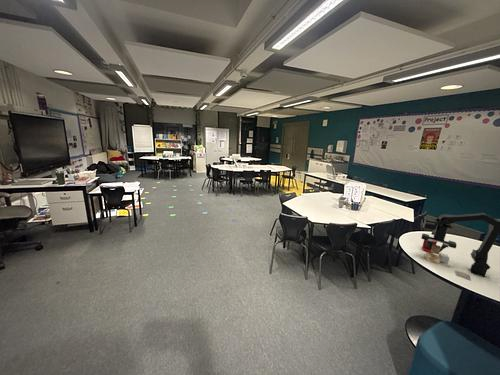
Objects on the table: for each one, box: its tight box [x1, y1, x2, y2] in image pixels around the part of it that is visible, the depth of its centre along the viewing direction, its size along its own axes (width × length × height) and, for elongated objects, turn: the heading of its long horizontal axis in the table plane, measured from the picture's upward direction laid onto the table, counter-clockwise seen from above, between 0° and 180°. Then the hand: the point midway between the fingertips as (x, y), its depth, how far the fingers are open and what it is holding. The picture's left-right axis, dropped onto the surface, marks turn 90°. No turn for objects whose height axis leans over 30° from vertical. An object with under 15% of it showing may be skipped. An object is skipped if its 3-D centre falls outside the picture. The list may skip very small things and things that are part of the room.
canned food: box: [421, 235, 438, 254], centre depth 164 cm, size 8×8×11 cm
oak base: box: [424, 251, 440, 265], centre depth 151 cm, size 7×7×4 cm
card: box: [454, 270, 472, 281], centre depth 136 cm, size 7×7×1 cm
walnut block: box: [431, 244, 442, 255], centre depth 149 cm, size 4×4×5 cm
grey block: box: [439, 252, 450, 264], centre depth 151 cm, size 4×4×5 cm
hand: (434, 250), depth 150 cm, fingers closed on walnut block, 4 cm apart
